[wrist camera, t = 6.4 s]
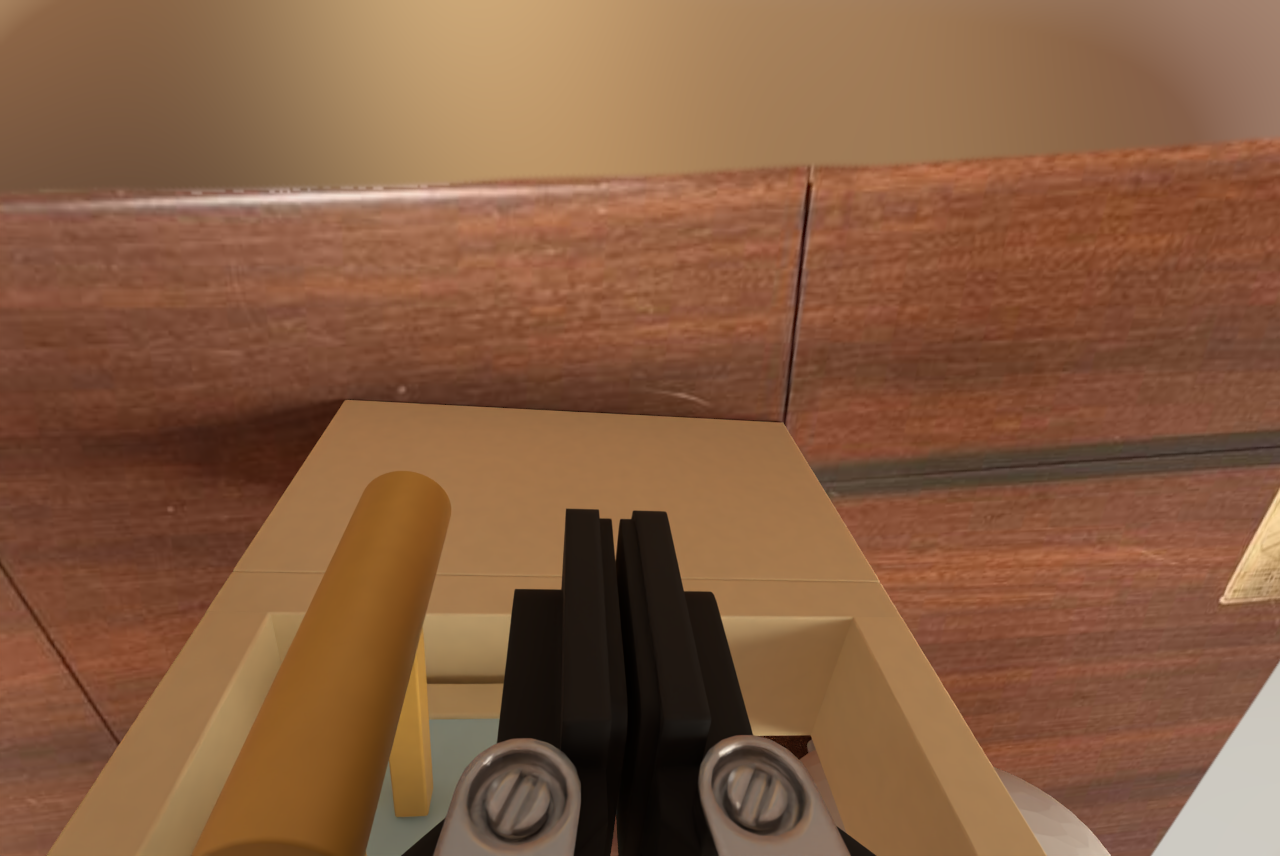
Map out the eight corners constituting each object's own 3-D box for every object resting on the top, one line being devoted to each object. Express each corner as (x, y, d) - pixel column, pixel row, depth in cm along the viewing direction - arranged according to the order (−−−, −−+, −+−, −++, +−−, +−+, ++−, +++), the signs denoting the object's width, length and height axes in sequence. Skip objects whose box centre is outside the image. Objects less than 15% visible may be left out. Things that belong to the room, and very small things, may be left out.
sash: (235, 408, 13) (-639, 1318, 4) (600, 426, 14) (674, 1170, 5) (297, 707, 17) (-29, 1487, 8) (574, 704, 18) (585, 1390, 9)
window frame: (344, 399, 26) (-653, 1906, 5) (783, 421, 28) (1420, 1463, 7) (357, 503, 28) (-264, 1809, 7) (760, 515, 30) (1188, 1502, 10)
